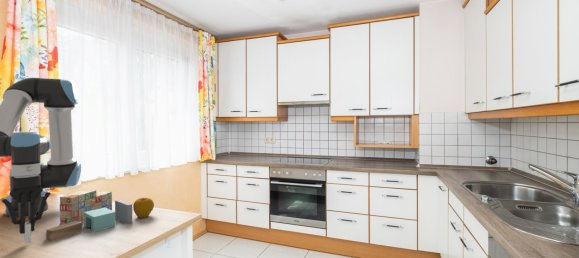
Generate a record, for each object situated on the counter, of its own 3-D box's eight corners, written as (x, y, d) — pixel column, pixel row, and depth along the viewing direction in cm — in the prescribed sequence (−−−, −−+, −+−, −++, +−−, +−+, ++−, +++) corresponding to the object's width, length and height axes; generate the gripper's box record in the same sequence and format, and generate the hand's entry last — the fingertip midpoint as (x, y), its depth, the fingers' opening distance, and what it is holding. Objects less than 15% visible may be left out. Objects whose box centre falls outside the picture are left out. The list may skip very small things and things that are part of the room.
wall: (115, 217, 128) (115, 200, 128) (119, 216, 130) (119, 199, 130) (127, 223, 121) (127, 205, 121) (132, 222, 123) (132, 204, 123)
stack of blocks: (101, 209, 140) (101, 185, 140) (112, 210, 139) (112, 185, 139) (59, 224, 119) (59, 196, 119) (72, 225, 118) (71, 197, 118)
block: (83, 226, 117) (83, 212, 117) (105, 220, 124) (105, 207, 124) (93, 231, 112) (93, 217, 112) (115, 225, 118) (115, 211, 118)
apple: (157, 213, 134) (157, 195, 134) (147, 220, 126) (147, 200, 125) (139, 213, 134) (139, 195, 134) (129, 219, 126) (129, 200, 126)
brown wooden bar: (46, 239, 104) (46, 229, 104) (75, 230, 113) (75, 220, 113) (52, 241, 103) (52, 231, 103) (81, 232, 112) (81, 222, 112)
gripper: (2, 180, 91) (3, 251, 92) (53, 174, 102) (53, 237, 102) (-3, 177, 95) (-2, 245, 96) (46, 171, 106) (47, 232, 107)
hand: (27, 241), depth 99 cm, fingers closed
